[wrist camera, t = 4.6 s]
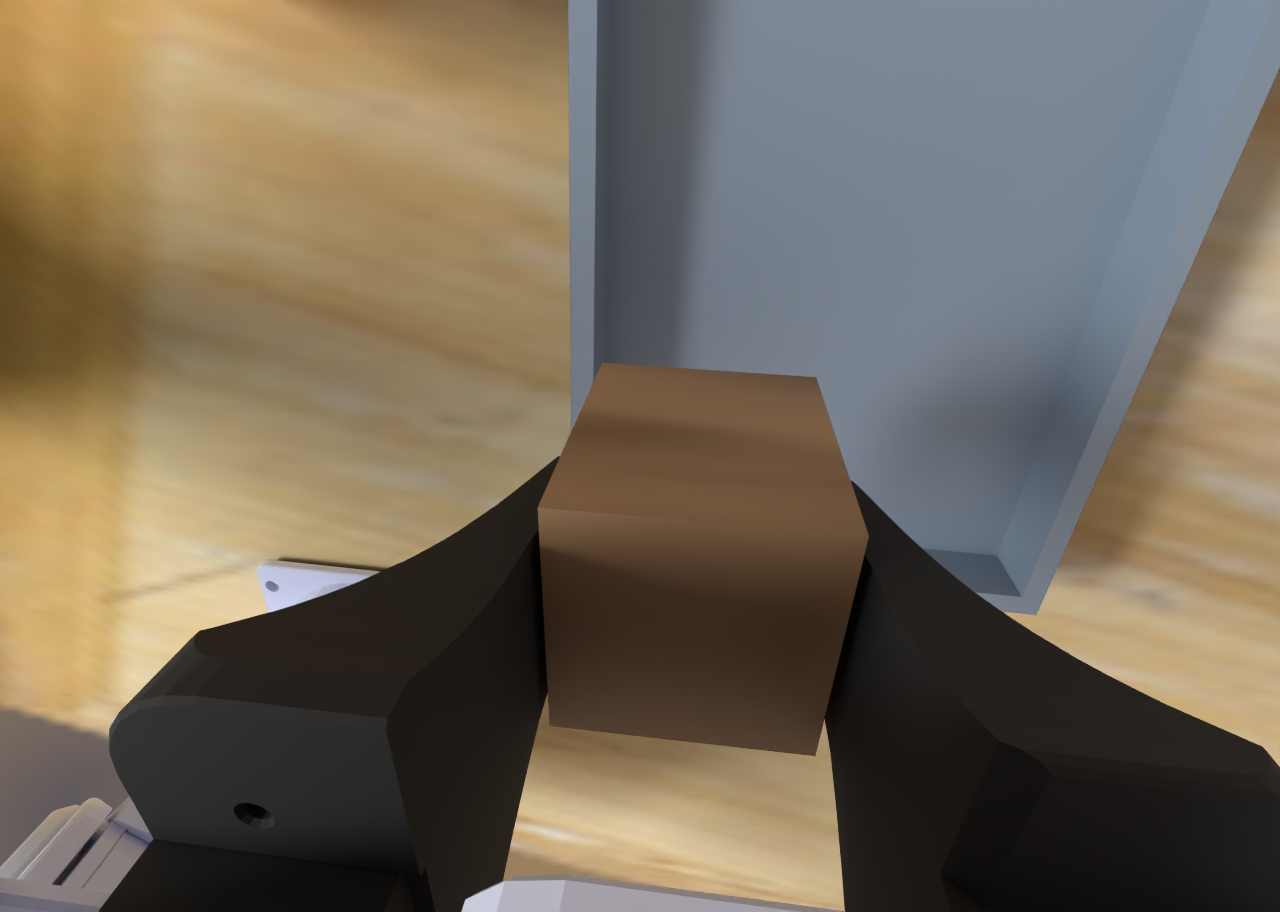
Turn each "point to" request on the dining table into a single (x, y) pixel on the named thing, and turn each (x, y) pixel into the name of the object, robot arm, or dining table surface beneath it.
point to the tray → (912, 227)
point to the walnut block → (699, 559)
